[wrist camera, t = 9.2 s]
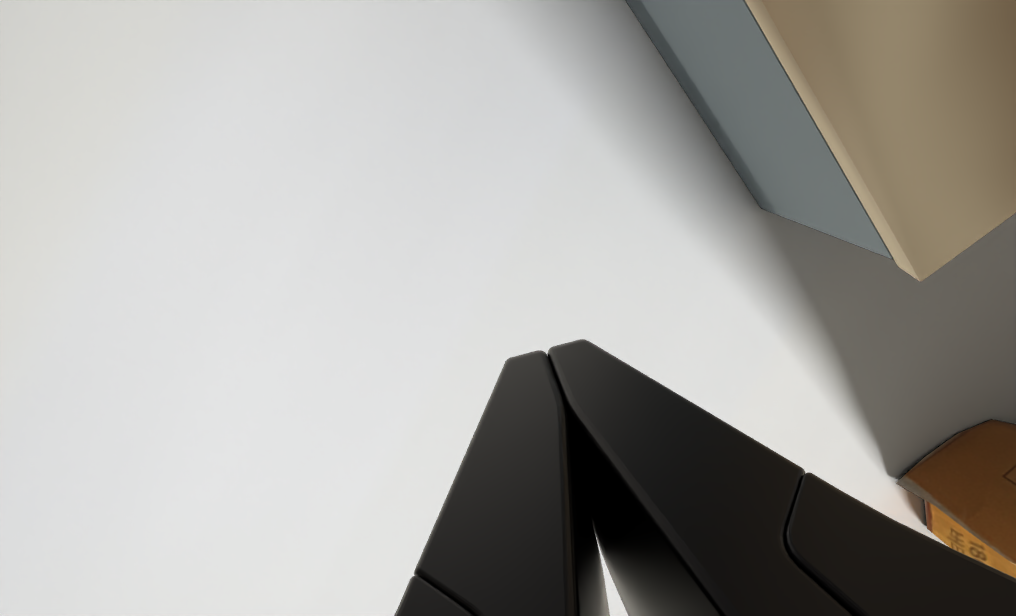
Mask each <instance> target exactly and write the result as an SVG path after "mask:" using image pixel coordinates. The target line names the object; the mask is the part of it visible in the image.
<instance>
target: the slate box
mask: <svg viewBox="0 0 1016 616" xmlns="http://www.w3.org/2000/svg"><path fill="white" fill-rule="evenodd" d="M626 2H627V3H628V5H629V6H630V8H631V9H632V11H633V13H634V14H635V16H636V17H637V19H638V20H639V22H640V23H641V25H642V26H643V28H644V29H645V31H646V32H647V34H648V36H649V37H650V39H651V40H652V42H653V43H654V45H655V46H656V48H657V49H658V51H659V52H660V54H661V56H662V57H663V59H664V60H665V62H666V63H667V65H668V66H669V68H670V69H671V71H672V72H673V74H674V75H675V77H676V79H677V80H678V82H679V83H680V85H681V86H682V88H683V89H684V91H685V92H686V94H687V95H688V97H689V99H690V100H691V102H692V103H693V105H694V106H695V108H696V109H697V111H698V112H699V114H700V115H701V117H702V118H703V120H704V122H705V123H706V125H707V126H708V128H709V129H710V131H711V132H712V134H713V135H714V137H715V138H716V140H717V142H718V143H719V145H720V146H721V148H722V149H723V151H724V152H725V154H726V155H727V157H728V158H729V160H730V161H731V163H732V165H733V166H734V168H735V169H736V171H737V172H738V174H739V175H740V177H741V178H742V180H743V181H744V183H745V185H746V186H747V188H748V189H749V191H750V192H751V194H752V195H753V197H754V198H755V200H756V201H757V203H758V204H759V206H760V208H761V209H764V210H766V211H769V212H772V213H774V214H777V215H779V216H782V217H784V218H787V219H790V220H792V221H795V222H797V223H800V224H803V225H805V226H808V227H810V228H813V229H815V230H818V231H821V232H823V233H826V234H828V235H831V236H834V237H836V238H839V239H841V240H844V241H846V242H849V243H852V244H854V245H857V246H859V247H862V248H864V249H867V250H870V251H872V252H875V253H877V254H880V255H883V256H885V257H888V258H890V259H893V257H892V255H891V253H890V251H889V250H888V248H887V246H886V244H885V243H884V241H883V239H882V237H881V236H880V234H879V232H878V231H877V229H876V227H875V225H874V224H873V222H872V220H871V218H870V217H869V215H868V213H867V211H866V210H865V208H864V206H863V204H862V203H861V201H860V199H859V197H858V196H857V194H856V192H855V191H854V189H853V187H852V185H851V184H850V182H849V180H848V178H847V177H846V175H845V173H844V171H843V170H842V168H841V166H840V164H839V163H838V161H837V159H836V158H835V156H834V154H833V152H832V151H831V149H830V147H829V145H828V144H827V142H826V140H825V138H824V137H823V135H822V133H821V131H820V130H819V128H818V126H817V124H816V123H815V121H814V119H813V118H812V116H811V114H810V112H809V111H808V109H807V107H806V105H805V104H804V102H803V100H802V98H801V97H800V95H799V93H798V91H797V90H796V88H795V86H794V85H793V83H792V81H791V79H790V78H789V76H788V74H787V72H786V71H785V69H784V67H783V65H782V64H781V62H780V60H779V58H778V57H777V55H776V53H775V52H774V50H773V48H772V46H771V45H770V43H769V41H768V39H767V38H766V36H765V34H764V32H763V31H762V29H761V27H760V25H759V24H758V22H757V20H756V18H755V17H754V15H753V13H752V12H751V10H750V8H749V6H748V5H747V3H746V1H745V0H626Z"/></svg>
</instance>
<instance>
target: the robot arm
mask: <svg viewBox="0 0 1016 616" xmlns="http://www.w3.org/2000/svg"><path fill="white" fill-rule="evenodd" d="M547 354H548V356H547ZM547 354H546V353H545V352H544V351H534V352H530V353H527V354H523V355H519V356H515V357H511V358H509V359H508V360H507V361H506V362H505V364H504V367H503V369H502V371H501V373H500V376H499V378H498V380H497V383H496V385H495V387H494V390H493V392H492V394H491V396H490V399H489V401H488V403H487V406H486V408H485V410H484V412H483V415H482V417H481V419H480V422H479V424H478V426H477V429H476V431H475V433H474V435H473V438H472V440H471V442H470V445H469V447H468V449H467V452H466V454H465V456H464V458H463V461H462V463H461V465H460V468H459V470H458V472H457V474H456V477H455V479H454V481H453V484H452V486H451V488H450V491H449V493H448V495H447V497H446V500H445V502H444V504H443V507H442V509H441V511H440V513H439V516H438V518H437V520H436V523H435V525H434V527H433V530H432V532H431V534H430V536H429V539H428V541H427V543H426V546H425V548H424V550H423V552H422V555H421V557H420V559H419V562H418V564H417V566H416V569H415V571H414V575H415V576H413V577H412V578H411V579H410V581H409V583H408V586H407V588H406V591H405V593H404V595H403V598H402V600H401V602H400V605H399V607H398V609H397V611H396V613H395V615H394V616H610V614H609V608H608V601H607V594H606V588H605V581H604V575H603V569H602V564H601V558H600V553H599V549H598V544H599V547H600V550H601V553H602V555H603V558H604V560H605V563H606V565H607V568H608V570H609V572H610V575H611V577H612V579H613V582H614V584H615V586H616V588H617V591H618V593H619V595H620V597H621V600H622V602H623V604H624V606H625V609H626V611H627V613H628V615H629V616H1016V578H1014V577H1012V576H1010V575H1008V574H1006V573H1004V572H1001V571H999V570H997V569H995V568H993V567H991V566H988V565H986V564H984V563H982V562H980V561H978V560H976V559H973V558H971V557H969V556H967V555H965V554H963V553H960V552H958V551H956V550H954V549H952V548H950V547H948V546H946V545H944V544H942V543H940V542H938V541H936V540H934V539H932V538H930V537H927V536H925V535H923V534H921V533H919V532H917V531H915V530H913V529H911V528H909V527H907V526H905V525H903V524H901V523H899V522H897V521H895V520H893V519H891V518H889V517H887V516H886V515H884V514H882V513H880V512H878V511H877V510H875V509H873V508H871V507H869V506H868V505H866V504H864V503H862V502H860V501H859V500H857V499H855V498H853V497H851V496H850V495H848V494H846V493H844V492H842V491H841V490H839V489H837V488H836V487H834V486H832V485H830V484H829V483H827V482H825V481H824V480H822V479H820V478H819V477H817V476H815V475H814V474H812V473H806V474H805V471H804V469H803V468H801V467H800V466H798V465H796V464H795V463H793V462H791V461H789V460H788V459H786V458H784V457H783V456H781V455H779V454H778V453H776V452H774V451H773V450H771V449H769V448H768V447H766V446H764V445H763V444H761V443H759V442H757V441H756V440H754V439H752V438H751V437H749V436H747V435H746V434H744V433H742V432H741V431H739V430H737V429H736V428H734V427H732V426H731V425H729V424H727V423H726V422H724V421H722V420H720V419H719V418H717V417H715V416H714V415H712V414H710V413H709V412H707V411H705V410H704V409H702V408H700V407H699V406H697V405H695V404H694V403H692V402H690V401H689V400H687V399H685V398H683V397H682V396H680V395H678V394H677V393H675V392H673V391H672V390H670V389H668V388H667V387H665V386H663V385H662V384H660V383H658V382H657V381H655V380H653V379H651V378H650V377H648V376H646V375H645V374H643V373H641V372H640V371H638V370H636V369H635V368H633V367H631V366H630V365H628V364H626V363H625V362H623V361H621V360H620V359H618V358H616V357H614V356H613V355H611V354H609V353H608V352H606V351H604V350H603V349H601V348H599V347H598V346H596V345H594V344H593V343H591V342H589V341H587V340H584V339H581V340H576V341H573V342H569V343H565V344H561V345H557V346H554V347H552V348H550V349H549V350H548V353H547ZM595 534H596V535H595ZM596 537H597V540H598V544H597V540H596Z"/></svg>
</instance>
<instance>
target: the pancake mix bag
mask: <svg viewBox="0 0 1016 616" xmlns="http://www.w3.org/2000/svg"><path fill="white" fill-rule="evenodd" d="M896 484H898V485H899V486H901V487H903V488H905V489H906V490H908V491H910V492H912V493H913V494H915V495H917V496H919V497H920V498H922V499H924V500H925V510H926V521H927V529H928V530H930V531H931V532H932V533H933V534H934V535H936V536H937V537H938V538H939V539H940V540H942V541H943V542H944V543H945V544H947V545H948V546H949V547H950V548H952V549H954V550H956V551H958V552H960V553H963V554H965V555H967V556H969V557H971V558H973V559H976V560H978V561H980V562H982V563H984V564H986V565H988V566H991V567H993V568H995V569H997V570H999V571H1001V572H1004V573H1006V574H1008V575H1010V576H1012V577H1014V578H1016V424H1011V423H1007V422H1002V421H998V420H993V419H991V420H989V421H987V422H984V423H982V424H979V425H977V426H974V427H972V428H970V429H967V430H965V431H962V432H960V433H958V434H956V435H955V436H953V437H952V438H951V439H949V440H948V441H946V442H945V443H944V444H942V445H941V446H939V447H938V448H937V449H935V450H934V451H932V452H931V453H930V454H928V455H927V456H926V457H924V458H923V459H922V460H921V461H920V462H919V463H917V464H916V465H915V466H914V467H913V468H912V469H911V470H910V471H909V472H907V473H906V474H905V475H904V476H903V477H902V478H901V479H900V480H899V481H897V482H896Z"/></svg>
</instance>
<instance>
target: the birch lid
mask: <svg viewBox="0 0 1016 616" xmlns="http://www.w3.org/2000/svg"><path fill="white" fill-rule="evenodd" d="M745 1H746V3H747V5H748V6H749V8H750V10H751V12H752V13H753V15H754V17H755V18H756V20H757V22H758V24H759V25H760V27H761V29H762V31H763V32H764V34H765V36H766V38H767V39H768V41H769V43H770V45H771V46H772V48H773V50H774V52H775V53H776V55H777V57H778V58H779V60H780V62H781V64H782V65H783V67H784V69H785V71H786V72H787V74H788V76H789V78H790V79H791V81H792V83H793V85H794V86H795V88H796V90H797V91H798V93H799V95H800V97H801V98H802V100H803V102H804V104H805V105H806V107H807V109H808V111H809V112H810V114H811V116H812V118H813V119H814V121H815V123H816V124H817V126H818V128H819V130H820V131H821V133H822V135H823V137H824V138H825V140H826V142H827V144H828V145H829V147H830V149H831V151H832V152H833V154H834V156H835V158H836V159H837V161H838V163H839V164H840V166H841V168H842V170H843V171H844V173H845V175H846V177H847V178H848V180H849V182H850V184H851V185H852V187H853V189H854V191H855V192H856V194H857V196H858V197H859V199H860V201H861V203H862V204H863V206H864V208H865V210H866V211H867V213H868V215H869V217H870V218H871V220H872V222H873V224H874V225H875V227H876V229H877V231H878V232H879V234H880V236H881V237H882V239H883V241H884V243H885V244H886V246H887V248H888V250H889V251H890V253H891V255H892V257H893V258H894V260H895V262H896V264H897V265H898V267H899V268H901V269H902V270H904V271H905V272H907V273H908V274H909V275H911V276H912V277H914V278H915V279H917V280H918V281H920V282H922V281H923V280H924V279H926V278H927V277H928V276H930V275H931V274H933V273H934V272H935V271H937V270H938V269H939V268H941V267H942V266H944V265H945V264H946V263H948V262H949V261H950V260H952V259H953V258H955V257H956V256H957V255H959V254H960V253H961V252H963V251H964V250H966V249H967V248H968V247H970V246H971V245H972V244H974V243H975V242H977V241H978V240H979V239H981V238H982V237H983V236H985V235H986V234H988V233H989V232H990V231H992V230H993V229H994V228H996V227H997V226H999V225H1000V224H1001V223H1003V222H1004V221H1005V220H1007V219H1008V218H1010V217H1011V216H1012V215H1014V214H1015V213H1016V0H745Z"/></svg>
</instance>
